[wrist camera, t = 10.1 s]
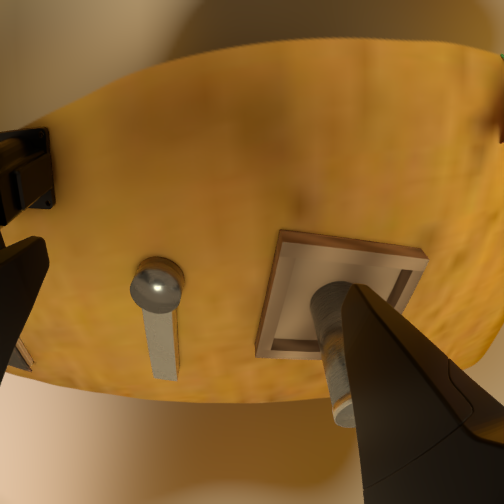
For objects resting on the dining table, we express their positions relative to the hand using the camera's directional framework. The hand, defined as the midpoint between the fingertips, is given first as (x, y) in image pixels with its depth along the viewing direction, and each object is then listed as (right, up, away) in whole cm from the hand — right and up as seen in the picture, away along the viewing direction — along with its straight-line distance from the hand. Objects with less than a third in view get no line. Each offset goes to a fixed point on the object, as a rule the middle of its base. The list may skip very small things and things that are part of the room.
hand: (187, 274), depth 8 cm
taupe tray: (+9, -3, +19) cm, 21 cm away
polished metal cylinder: (+9, -4, +18) cm, 20 cm away
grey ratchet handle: (-6, -6, +20) cm, 22 cm away
